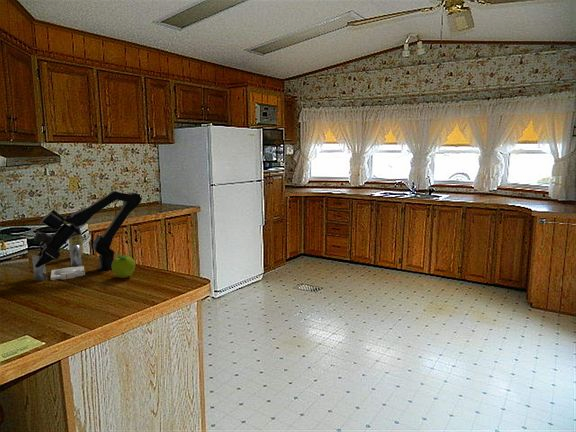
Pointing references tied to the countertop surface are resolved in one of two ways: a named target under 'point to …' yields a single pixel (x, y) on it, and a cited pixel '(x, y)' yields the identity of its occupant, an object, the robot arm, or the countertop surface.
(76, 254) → the cylinder
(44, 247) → the robot arm
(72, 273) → the scale
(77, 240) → the sauce bottle
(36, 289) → the countertop surface
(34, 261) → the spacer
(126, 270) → the fruit
